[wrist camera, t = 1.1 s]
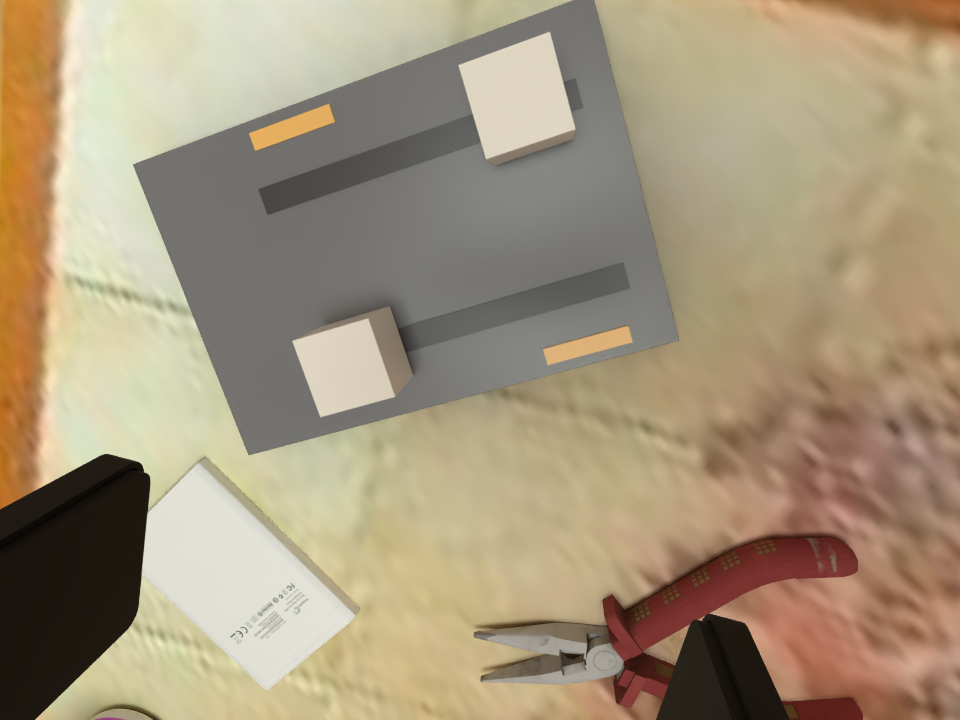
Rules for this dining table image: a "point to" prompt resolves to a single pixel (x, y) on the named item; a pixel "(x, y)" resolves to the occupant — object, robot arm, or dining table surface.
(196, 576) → the external hard drive
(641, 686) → the pliers
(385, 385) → the tab
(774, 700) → the robot arm
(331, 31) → the dining table surface
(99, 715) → the supplement bottle
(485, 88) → the tab
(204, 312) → the switch board
